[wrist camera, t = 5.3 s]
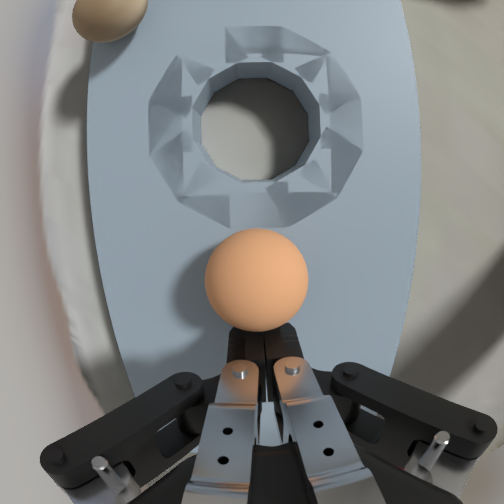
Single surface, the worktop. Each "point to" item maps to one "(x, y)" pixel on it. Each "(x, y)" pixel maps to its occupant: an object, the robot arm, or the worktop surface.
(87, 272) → the worktop surface
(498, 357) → the worktop surface
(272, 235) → the ball
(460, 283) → the worktop surface
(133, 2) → the cork ball
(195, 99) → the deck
